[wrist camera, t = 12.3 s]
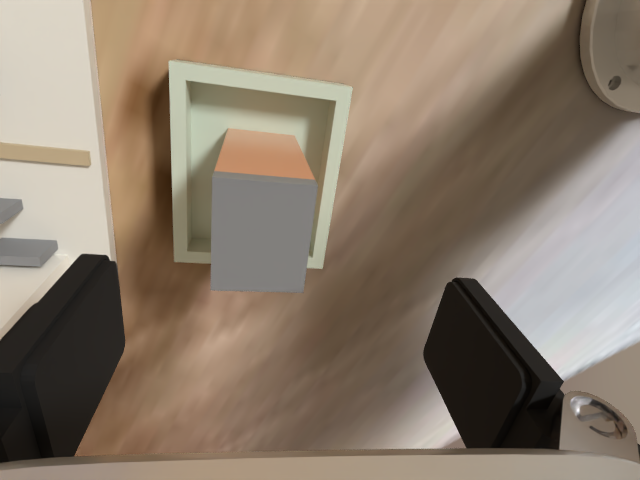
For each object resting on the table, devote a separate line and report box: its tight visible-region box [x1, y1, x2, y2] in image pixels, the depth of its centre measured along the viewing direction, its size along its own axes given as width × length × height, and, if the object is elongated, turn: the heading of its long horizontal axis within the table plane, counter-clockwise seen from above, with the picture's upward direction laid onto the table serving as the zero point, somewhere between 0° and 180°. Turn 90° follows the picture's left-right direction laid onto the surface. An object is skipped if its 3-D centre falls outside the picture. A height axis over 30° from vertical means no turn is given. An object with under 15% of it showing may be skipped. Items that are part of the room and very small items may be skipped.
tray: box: [169, 60, 353, 269], centre depth 24 cm, size 10×12×2 cm
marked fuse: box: [211, 128, 318, 293], centre depth 20 cm, size 4×5×10 cm
